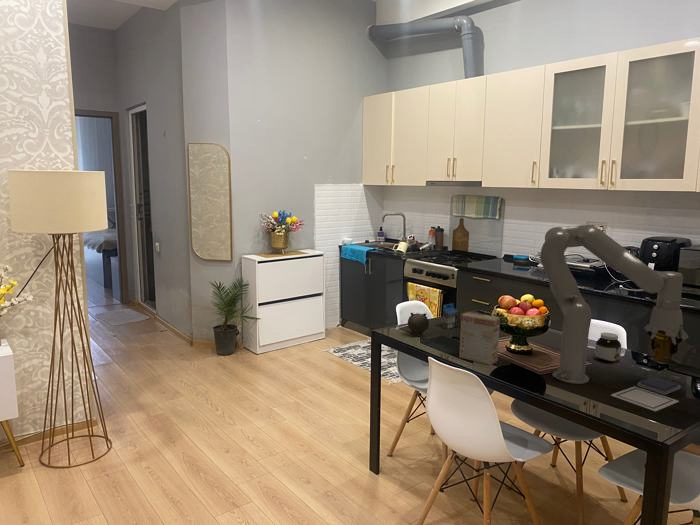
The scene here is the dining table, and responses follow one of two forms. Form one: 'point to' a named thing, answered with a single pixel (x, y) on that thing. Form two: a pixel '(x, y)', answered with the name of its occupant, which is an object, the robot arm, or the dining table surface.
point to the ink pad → (659, 385)
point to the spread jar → (608, 348)
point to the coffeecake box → (479, 337)
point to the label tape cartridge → (450, 316)
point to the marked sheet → (644, 398)
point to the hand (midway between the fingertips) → (663, 351)
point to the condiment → (663, 349)
